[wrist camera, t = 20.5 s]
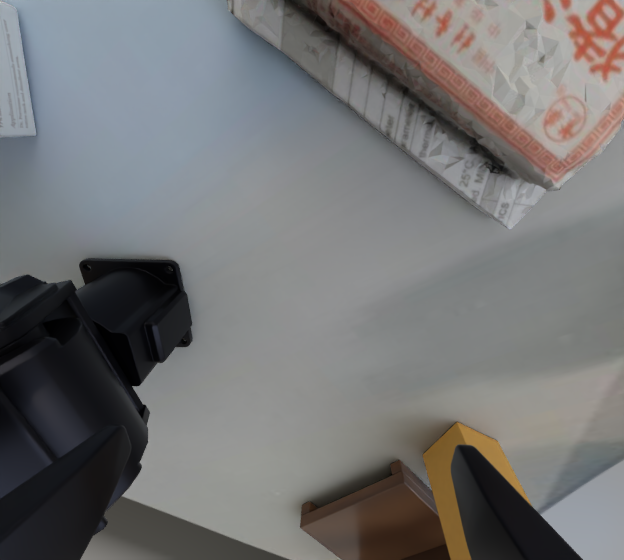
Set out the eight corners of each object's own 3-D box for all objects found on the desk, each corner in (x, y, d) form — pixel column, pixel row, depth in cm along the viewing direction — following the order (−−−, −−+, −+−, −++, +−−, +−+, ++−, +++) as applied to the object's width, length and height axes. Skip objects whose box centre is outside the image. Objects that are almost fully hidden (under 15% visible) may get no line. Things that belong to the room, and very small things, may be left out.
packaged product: (181, -34, 11) (359, -516, 7) (225, 14, 15) (350, -273, 12) (547, 253, 14) (798, 19, 11) (497, 225, 19) (662, 53, 15)
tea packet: (422, 454, 27) (459, 595, 19) (456, 421, 25) (515, 559, 17) (461, 472, 28) (514, 616, 19) (497, 441, 26) (573, 584, 18)
